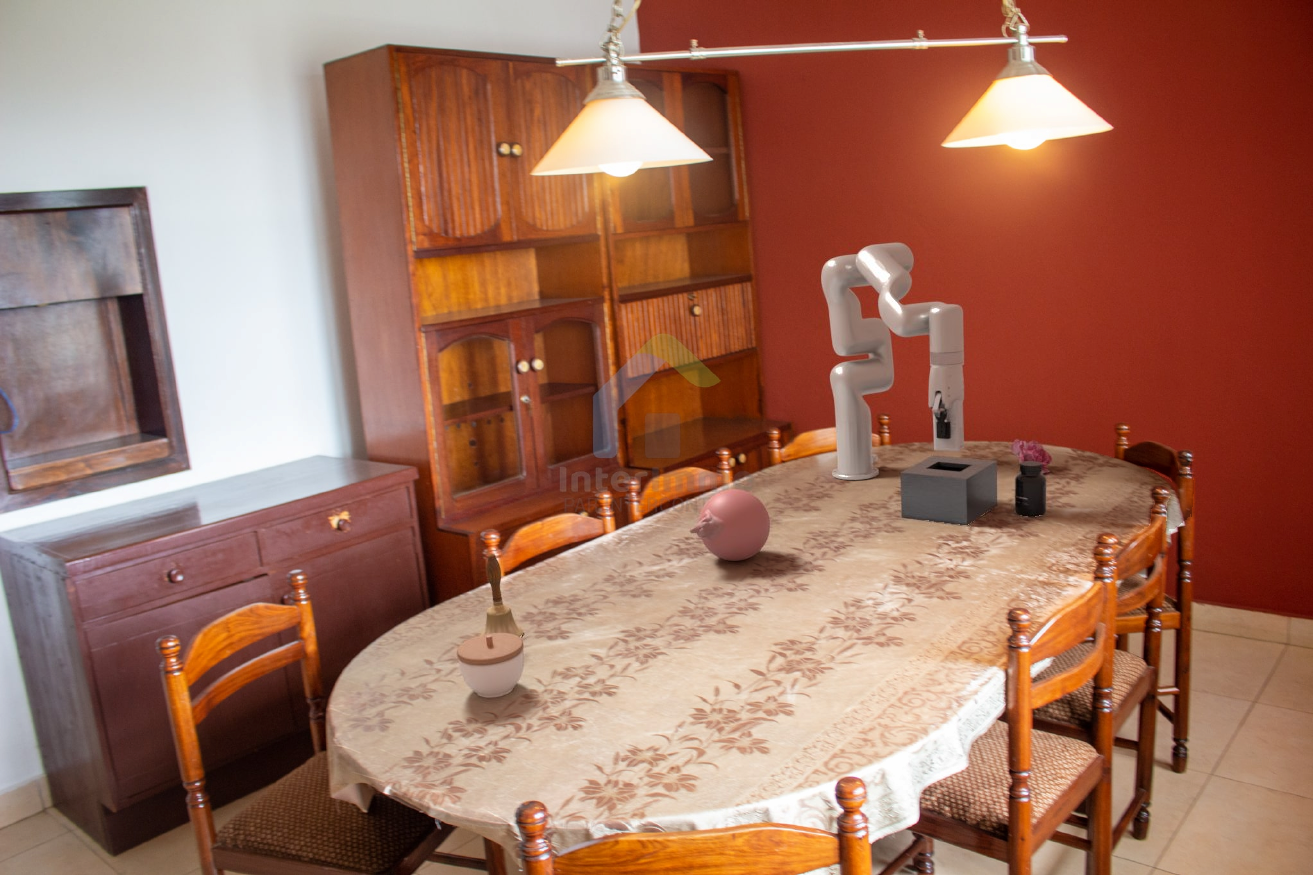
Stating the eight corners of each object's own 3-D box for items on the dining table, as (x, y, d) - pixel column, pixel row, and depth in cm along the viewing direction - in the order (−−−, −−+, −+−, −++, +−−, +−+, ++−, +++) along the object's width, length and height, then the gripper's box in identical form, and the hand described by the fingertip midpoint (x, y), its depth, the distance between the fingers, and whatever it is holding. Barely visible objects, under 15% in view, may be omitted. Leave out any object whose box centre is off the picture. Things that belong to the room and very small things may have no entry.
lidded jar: (490, 710, 161) (484, 655, 159) (448, 693, 168) (442, 640, 166) (541, 684, 169) (535, 631, 167) (499, 669, 176) (493, 618, 174)
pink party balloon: (669, 565, 222) (664, 496, 219) (740, 542, 233) (735, 477, 230) (714, 582, 210) (709, 509, 207) (786, 557, 221) (783, 488, 218)
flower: (1055, 482, 273) (1062, 458, 265) (1018, 488, 273) (1023, 464, 266) (1040, 451, 280) (1046, 426, 273) (1004, 457, 281) (1008, 432, 273)
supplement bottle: (1013, 517, 236) (1013, 466, 234) (1015, 508, 242) (1015, 459, 240) (1045, 518, 234) (1045, 467, 231) (1046, 509, 240) (1046, 459, 237)
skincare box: (964, 447, 241) (963, 397, 239) (959, 452, 238) (958, 401, 235) (938, 446, 244) (937, 397, 242) (933, 450, 241) (932, 400, 238)
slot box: (934, 498, 256) (933, 455, 254) (997, 505, 246) (996, 460, 244) (901, 517, 242) (900, 472, 240) (966, 526, 232) (966, 479, 230)
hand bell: (527, 640, 188) (518, 557, 185) (482, 648, 186) (471, 564, 182) (520, 624, 196) (511, 544, 192) (476, 632, 194) (466, 551, 190)
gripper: (946, 353, 245) (948, 427, 249) (915, 364, 233) (917, 442, 236) (977, 353, 240) (978, 429, 244) (946, 364, 228) (948, 445, 232)
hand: (948, 435), depth 240 cm, fingers closed on skincare box, 4 cm apart
